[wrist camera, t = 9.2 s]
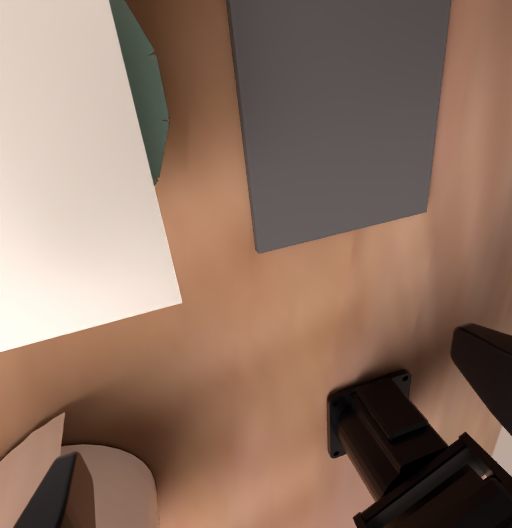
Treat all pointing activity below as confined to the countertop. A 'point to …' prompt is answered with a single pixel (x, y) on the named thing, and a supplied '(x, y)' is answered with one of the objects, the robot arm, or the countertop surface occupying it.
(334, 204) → the mat
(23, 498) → the toilet tissue
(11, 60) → the white rectangular block
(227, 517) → the countertop surface
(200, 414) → the countertop surface
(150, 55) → the bowl
